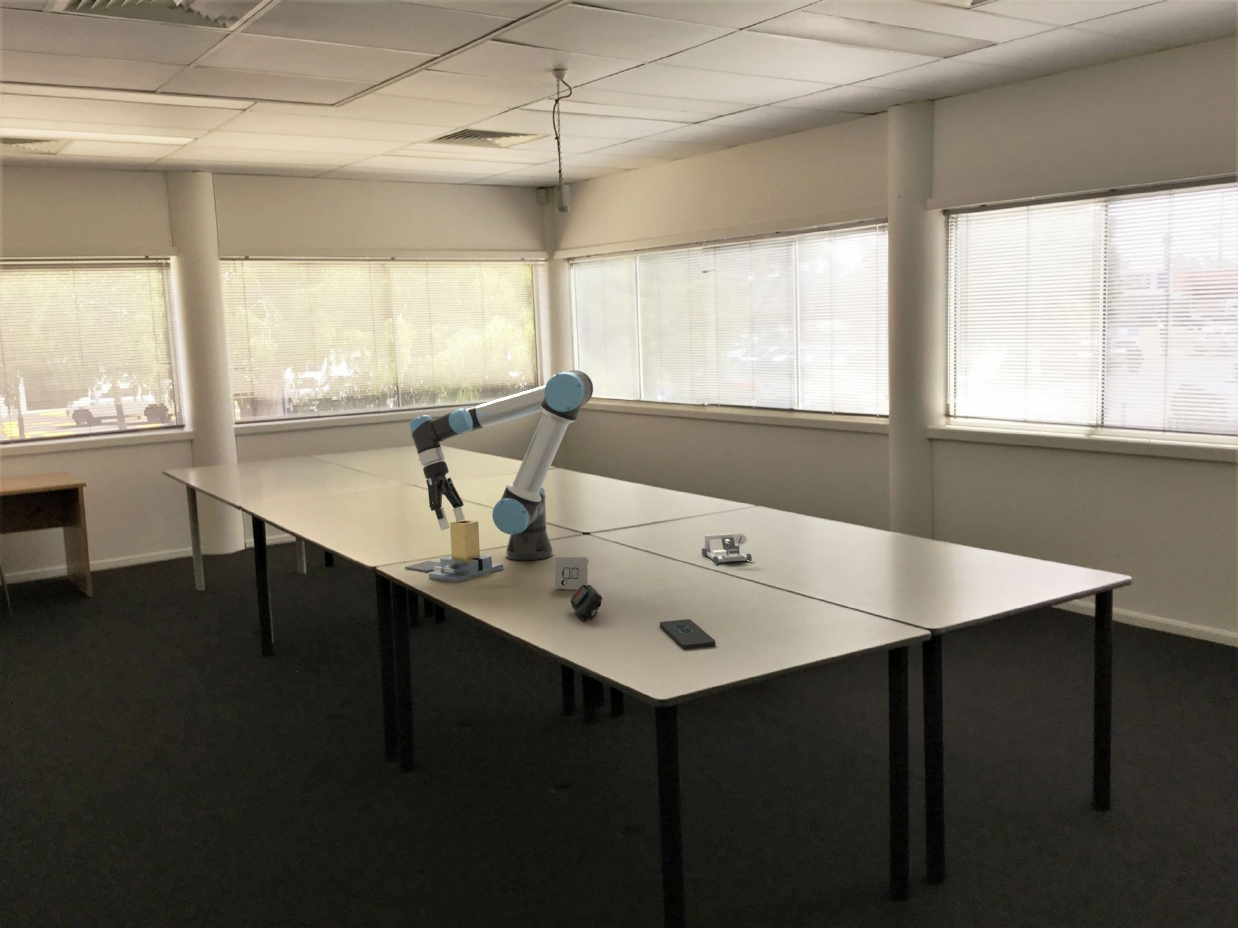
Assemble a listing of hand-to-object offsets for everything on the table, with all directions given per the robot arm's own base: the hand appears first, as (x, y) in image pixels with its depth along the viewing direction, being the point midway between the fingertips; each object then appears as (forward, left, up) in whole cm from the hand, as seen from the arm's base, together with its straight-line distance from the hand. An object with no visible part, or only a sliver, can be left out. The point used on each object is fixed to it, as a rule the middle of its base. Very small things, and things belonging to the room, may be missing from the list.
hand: (454, 528), depth 325 cm
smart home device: (-78, +70, -13) cm, 105 cm away
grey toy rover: (-84, -12, -13) cm, 86 cm away
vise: (-6, +8, -13) cm, 16 cm away
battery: (-51, +53, -13) cm, 74 cm away
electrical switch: (-42, +25, -13) cm, 50 cm away
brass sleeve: (-6, +8, -8) cm, 12 cm away
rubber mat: (+9, 0, -13) cm, 16 cm away
